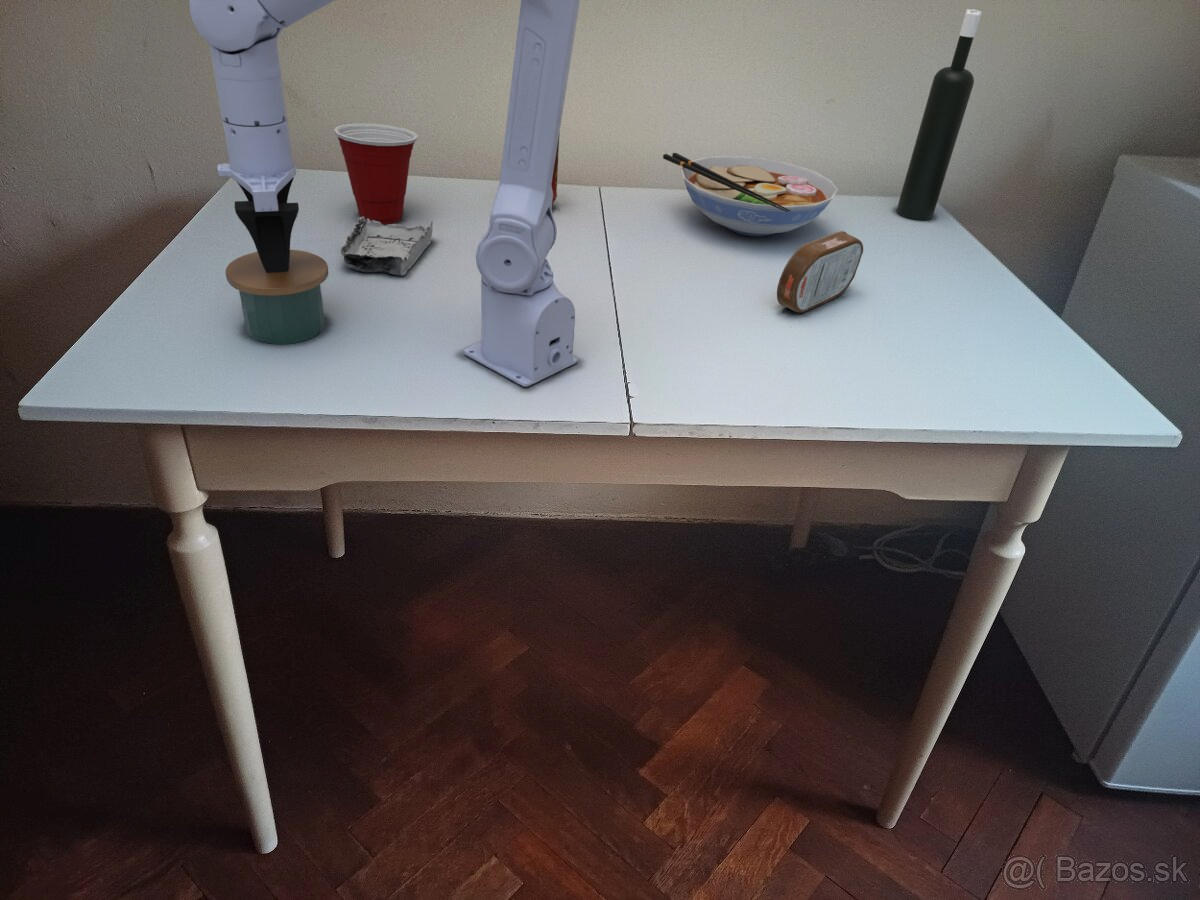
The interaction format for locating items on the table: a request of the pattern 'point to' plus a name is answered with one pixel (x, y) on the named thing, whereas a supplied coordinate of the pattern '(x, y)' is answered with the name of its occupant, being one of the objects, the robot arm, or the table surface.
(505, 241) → the robot arm
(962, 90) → the wine bottle
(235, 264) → the knobbed round lid
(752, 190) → the ramen bowl
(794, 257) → the tin
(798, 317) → the table surface
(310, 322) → the cup
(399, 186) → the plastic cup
